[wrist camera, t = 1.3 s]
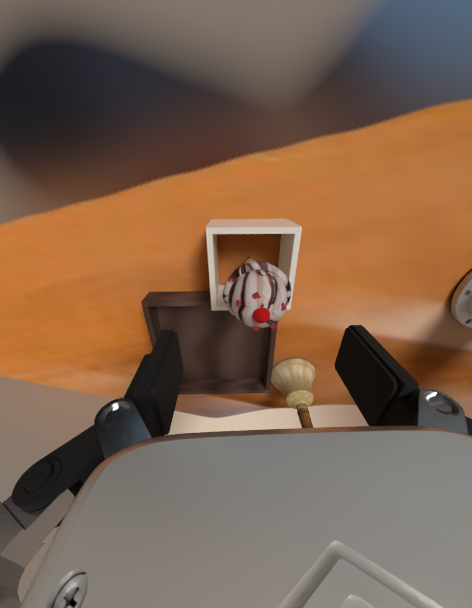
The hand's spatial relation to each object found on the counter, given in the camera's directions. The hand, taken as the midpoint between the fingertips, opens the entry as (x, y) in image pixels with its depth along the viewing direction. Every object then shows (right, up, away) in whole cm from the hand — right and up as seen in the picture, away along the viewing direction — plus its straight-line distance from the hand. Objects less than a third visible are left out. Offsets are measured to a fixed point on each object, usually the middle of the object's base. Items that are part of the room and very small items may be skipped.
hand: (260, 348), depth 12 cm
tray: (-5, -4, +23) cm, 23 cm away
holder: (0, +9, +16) cm, 18 cm away
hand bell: (+9, -10, +27) cm, 30 cm away
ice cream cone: (0, +9, +16) cm, 18 cm away
